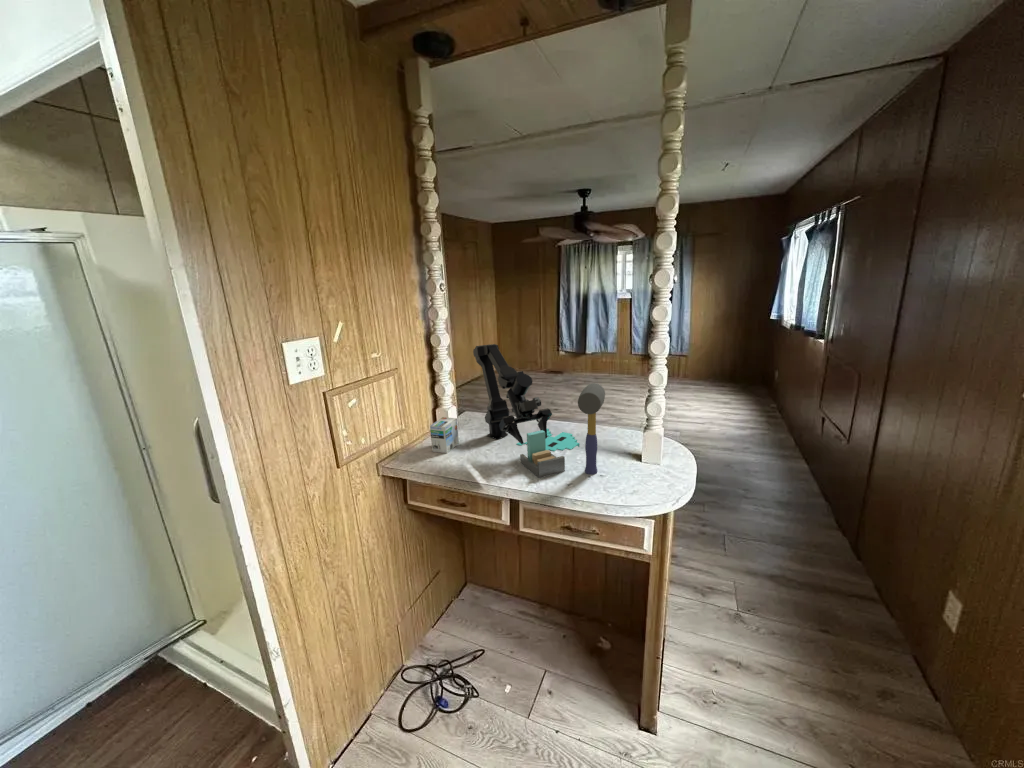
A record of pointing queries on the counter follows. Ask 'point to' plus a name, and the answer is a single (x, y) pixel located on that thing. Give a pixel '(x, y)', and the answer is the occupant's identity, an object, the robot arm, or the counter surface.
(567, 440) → the alien figure
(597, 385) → the rubber mallet
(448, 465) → the counter surface
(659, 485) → the counter surface
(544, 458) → the offcut
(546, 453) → the offcut
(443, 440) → the light bulb box
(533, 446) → the teal rectangular block
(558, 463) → the rack
